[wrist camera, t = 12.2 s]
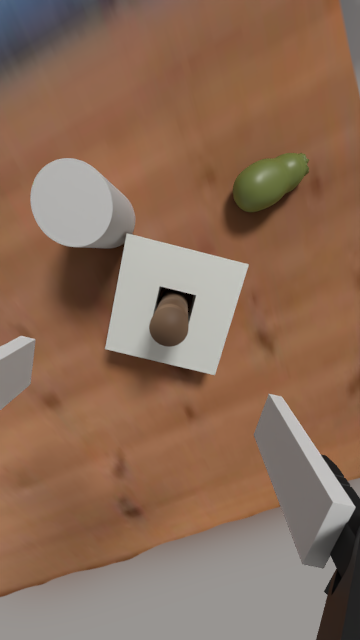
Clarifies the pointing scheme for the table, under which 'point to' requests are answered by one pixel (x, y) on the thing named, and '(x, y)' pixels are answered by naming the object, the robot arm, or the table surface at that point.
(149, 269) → the socket block
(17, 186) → the table surface
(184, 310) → the walnut dowel
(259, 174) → the pear
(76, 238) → the grey cylinder peg
